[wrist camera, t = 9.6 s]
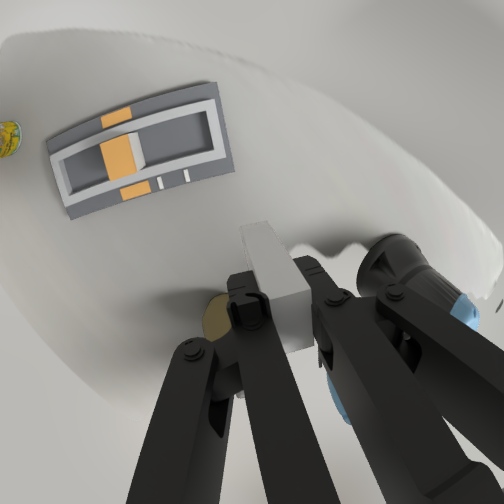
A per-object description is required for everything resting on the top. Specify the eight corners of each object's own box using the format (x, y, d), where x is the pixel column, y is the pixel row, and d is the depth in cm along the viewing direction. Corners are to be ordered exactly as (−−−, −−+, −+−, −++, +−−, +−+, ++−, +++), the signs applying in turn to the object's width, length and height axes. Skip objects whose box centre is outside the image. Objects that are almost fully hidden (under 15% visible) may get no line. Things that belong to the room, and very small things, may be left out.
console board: (215, 83, 29) (217, 79, 26) (233, 169, 35) (236, 173, 32) (53, 140, 27) (41, 142, 24) (75, 215, 33) (66, 224, 30)
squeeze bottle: (192, 313, 45) (195, 403, 29) (219, 279, 43) (234, 369, 27) (230, 330, 48) (247, 415, 32) (258, 300, 46) (287, 385, 30)
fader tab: (137, 132, 28) (126, 134, 24) (145, 164, 31) (136, 172, 26) (114, 140, 28) (99, 143, 23) (122, 172, 30) (110, 181, 26)
